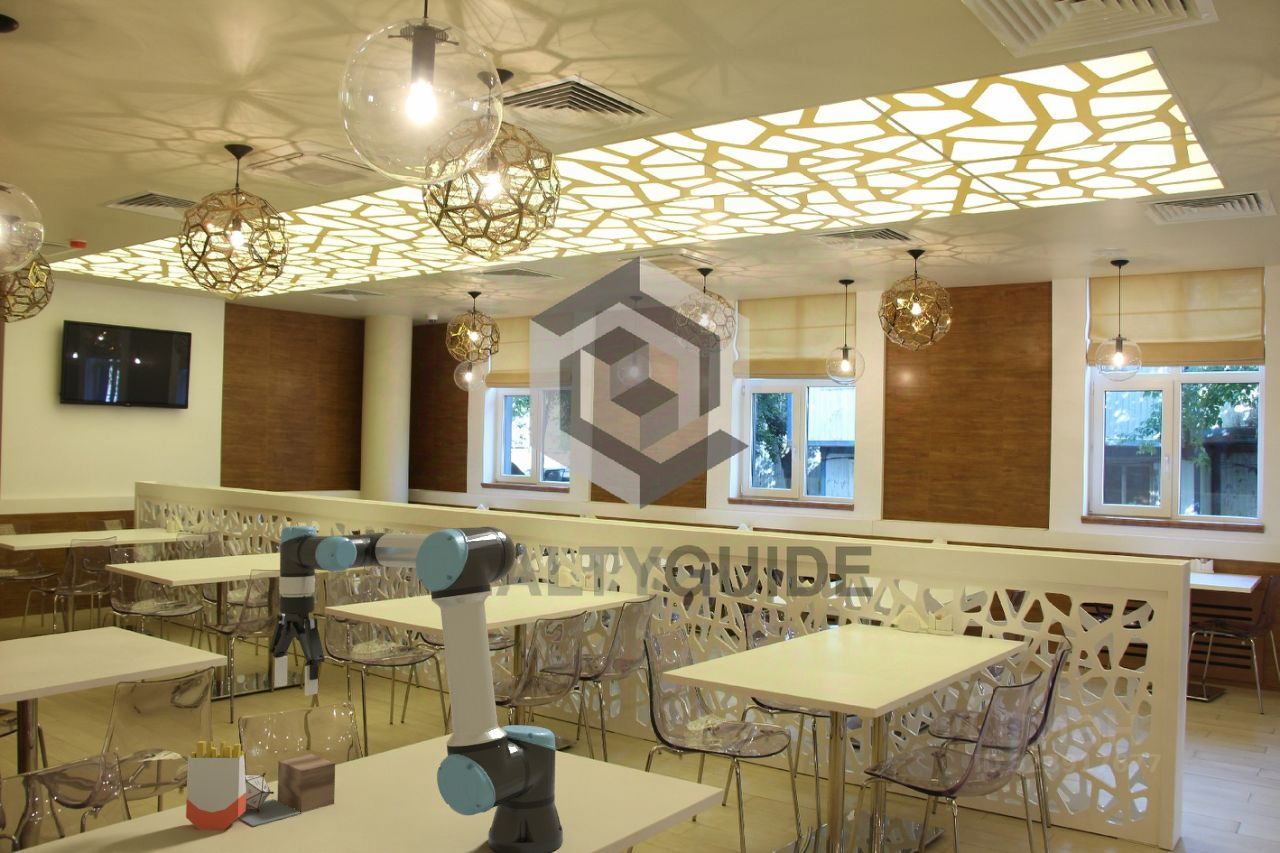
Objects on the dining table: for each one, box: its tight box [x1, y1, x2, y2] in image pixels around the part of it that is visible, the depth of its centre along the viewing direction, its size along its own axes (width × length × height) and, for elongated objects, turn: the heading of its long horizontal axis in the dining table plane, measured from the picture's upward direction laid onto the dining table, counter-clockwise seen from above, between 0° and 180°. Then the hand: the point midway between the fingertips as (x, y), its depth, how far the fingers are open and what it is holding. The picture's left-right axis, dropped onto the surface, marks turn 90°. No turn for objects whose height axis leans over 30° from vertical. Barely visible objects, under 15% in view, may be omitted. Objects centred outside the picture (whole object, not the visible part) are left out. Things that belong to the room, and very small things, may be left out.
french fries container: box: [185, 740, 246, 830], centre depth 207 cm, size 5×11×18 cm, turn 91°
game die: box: [245, 771, 275, 813], centre depth 215 cm, size 9×8×10 cm
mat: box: [237, 798, 303, 828], centre depth 214 cm, size 13×11×1 cm
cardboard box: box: [277, 753, 336, 813], centre depth 222 cm, size 11×8×9 cm
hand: (295, 690), depth 218 cm, fingers open, 13 cm apart
